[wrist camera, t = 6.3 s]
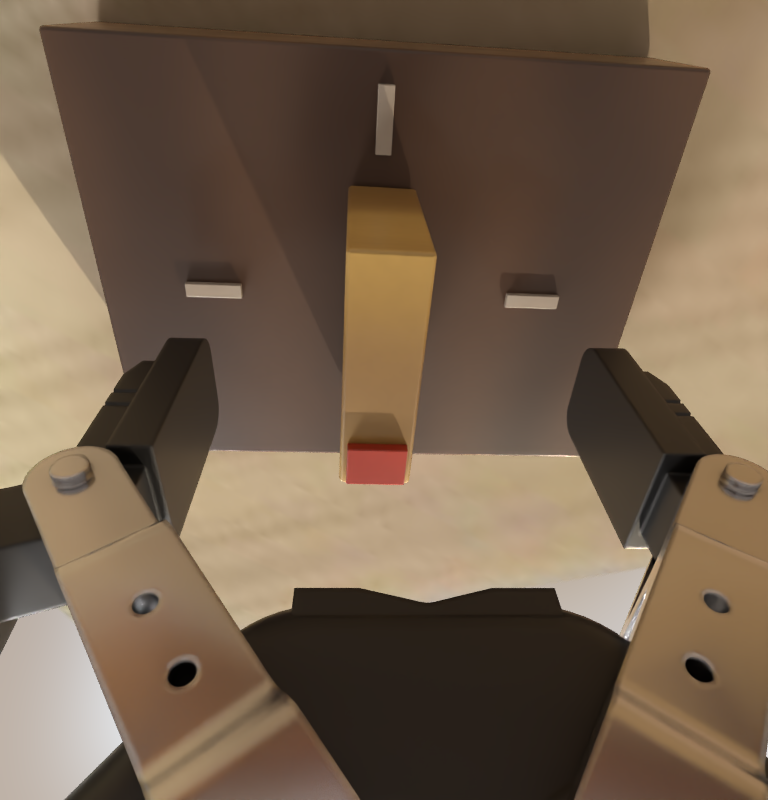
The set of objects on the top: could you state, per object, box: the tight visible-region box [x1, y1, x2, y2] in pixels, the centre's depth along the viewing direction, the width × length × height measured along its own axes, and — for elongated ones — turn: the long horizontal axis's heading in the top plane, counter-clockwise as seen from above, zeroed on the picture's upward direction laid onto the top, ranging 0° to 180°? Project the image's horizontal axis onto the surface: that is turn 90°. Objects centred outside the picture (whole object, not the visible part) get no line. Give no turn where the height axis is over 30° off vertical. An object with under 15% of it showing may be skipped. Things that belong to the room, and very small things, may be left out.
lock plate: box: [40, 22, 710, 457], centre depth 16 cm, size 14×11×3 cm
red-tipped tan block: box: [339, 186, 437, 485], centre depth 13 cm, size 6×2×4 cm, turn 176°
